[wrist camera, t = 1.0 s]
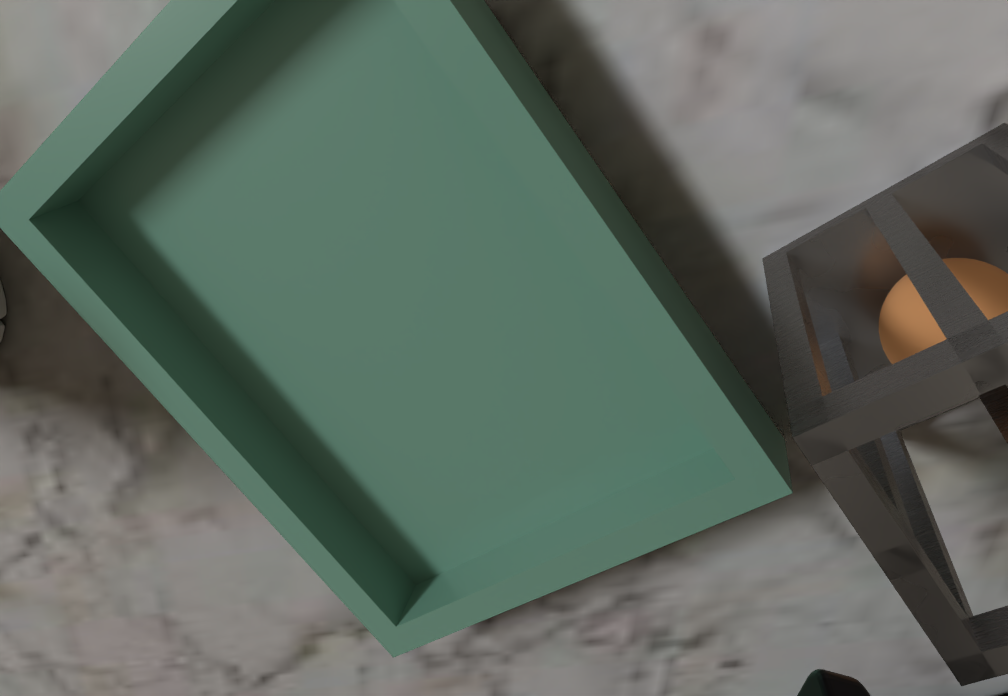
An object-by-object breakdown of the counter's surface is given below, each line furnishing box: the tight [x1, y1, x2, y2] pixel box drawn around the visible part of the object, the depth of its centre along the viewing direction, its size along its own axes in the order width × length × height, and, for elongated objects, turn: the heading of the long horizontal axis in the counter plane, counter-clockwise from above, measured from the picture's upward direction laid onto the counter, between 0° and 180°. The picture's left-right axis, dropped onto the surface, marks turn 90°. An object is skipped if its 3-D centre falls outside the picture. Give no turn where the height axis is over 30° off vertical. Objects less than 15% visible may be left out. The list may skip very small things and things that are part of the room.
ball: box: [879, 258, 1008, 364], centre depth 17 cm, size 3×3×3 cm
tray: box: [0, 0, 793, 657], centre depth 22 cm, size 18×14×2 cm
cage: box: [763, 123, 1008, 686], centre depth 15 cm, size 6×6×8 cm
